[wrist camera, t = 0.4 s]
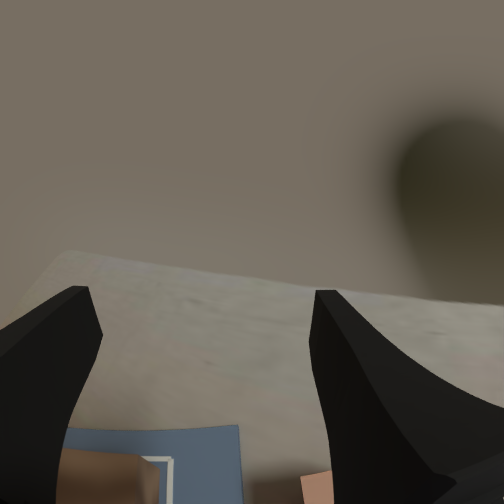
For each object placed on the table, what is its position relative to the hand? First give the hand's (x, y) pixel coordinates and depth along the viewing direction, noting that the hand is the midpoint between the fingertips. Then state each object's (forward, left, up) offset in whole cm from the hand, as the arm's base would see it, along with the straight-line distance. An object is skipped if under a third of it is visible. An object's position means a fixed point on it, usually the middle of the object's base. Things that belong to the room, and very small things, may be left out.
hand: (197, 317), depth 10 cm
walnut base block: (-3, +14, -19) cm, 24 cm away
